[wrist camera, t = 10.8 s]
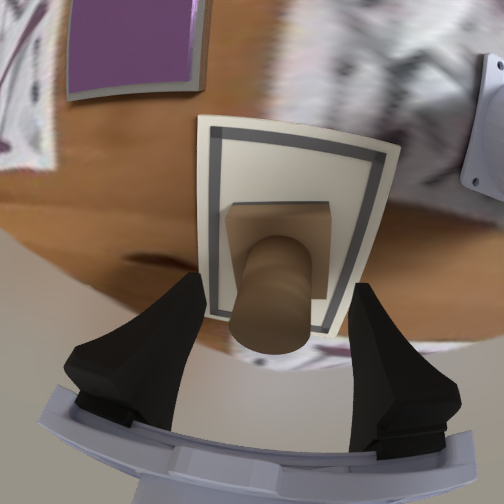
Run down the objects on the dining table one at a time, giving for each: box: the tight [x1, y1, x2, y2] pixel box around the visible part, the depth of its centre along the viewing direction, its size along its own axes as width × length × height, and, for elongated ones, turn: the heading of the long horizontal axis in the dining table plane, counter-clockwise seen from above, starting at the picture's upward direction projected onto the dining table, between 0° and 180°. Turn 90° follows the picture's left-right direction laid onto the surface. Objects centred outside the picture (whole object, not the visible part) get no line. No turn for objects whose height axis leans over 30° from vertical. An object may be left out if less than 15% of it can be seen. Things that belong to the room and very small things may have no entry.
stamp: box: [225, 201, 332, 355], centre depth 14 cm, size 5×5×6 cm
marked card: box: [197, 114, 401, 338], centre depth 17 cm, size 10×14×1 cm
